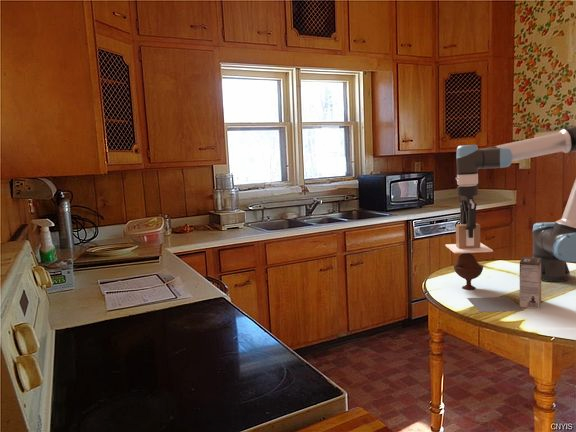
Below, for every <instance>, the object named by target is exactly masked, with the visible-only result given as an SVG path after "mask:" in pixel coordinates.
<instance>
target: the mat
mask: <svg viewBox="0 0 576 432" xmlns="http://www.w3.org/2000/svg"><path fill="white" fill-rule="evenodd" d="M466 299H467V300H468V302H470V303H471V304H472V305H473V306H474V308H475V309H477V311H478V312H479V313H483V312H485V313H487V312H488V313H489V312H490V313H492V312H517V311H519V312H520V311H521V312H522V311H525V310H524V309H523V307H520V305H519V304H517V303H516V302H514V301H513V300H512V299H511V298H510V297H508V296H488V297H487V296H485V297H466Z"/></svg>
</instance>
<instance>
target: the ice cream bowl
mask: <svg viewBox="0 0 576 432" xmlns="http://www.w3.org/2000/svg"><path fill="white" fill-rule="evenodd" d="M453 269H454V271H455V274H457V275H458V276H459V277H461V278H462V279H465V282H466V284H465V285H463V286H462V287H461V289H463V290H466V291H475V290H476V289H477V288H476V287H475V286H474V285H473V284H472V280H474V279H477V278H478V277H480V275H481V274H482V272H483V270H484V265H483V264H480V263H479V262H478V261H477V259H476V257H475V256H474V254H472V253H460V254H459V256H458V259H457V260H456V263H455V264H454V265H453Z"/></svg>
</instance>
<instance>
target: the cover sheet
mask: <svg viewBox="0 0 576 432" xmlns="http://www.w3.org/2000/svg"><path fill="white" fill-rule="evenodd" d="M471 226H472V225H471ZM465 228H467V224H461V223H458V224H457V223H456V224H455V243H450V244H449V243H448V244H447V243H446V244H445V247H446V249H449V250H450V251H451V252H452V253H453V254H463V253H470V254H472V253H473V254H474V253H477V254H478V253H492V252H493V253H494V250H493V249H492V248H490V247H488V246H487V245H485V244H483V243H482V242H481V224H480V223H477V222H476V228H474V246H466V230H465Z"/></svg>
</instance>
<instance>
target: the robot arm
mask: <svg viewBox="0 0 576 432" xmlns="http://www.w3.org/2000/svg"><path fill="white" fill-rule="evenodd" d="M574 152H576V125H574V126H571V127H566V128H563V129H560V130H559V131H558V132H556V133H555V132H554V133H550V134H545V135H542V136H537V137H532V138H528V139H527V138H526V139H523V140H518V141H517V140H516V141H512V142H509V143H503V144H499V145H494V146H490V147H485V148H479V147H478V145H477V144H466V145H465V144H464V145H463V144H462V145H458V146H457V148H456V157H455V158H456V177H455V180H456V184H457V185H458V186H456V195H457V196H458V197H461V199H460V200H459V210H460V212H459V213H460V224H467V228H465V230H466V246H474V228H476V223H477V203H476V202H475V199H474V196H478V195H479V186H478V184H479V172H478V171H479V170H482V169H499V168H500V169H502V168H503V169H504V168H508V167H510V166H511V164H512V162H515V161H516V162H517V161H521V160H525V159H526V160H527V159H531V158H535V157H539V156H540V157H541V156H545V155H551V154H554V153H564V154H569V153H574ZM574 179H575V180H574V182H573V185H572V188H571V191H570V194H569V197H568V200H567V203H566V205H565V208H564V211H563V214H562V216H561V218H560V219H558V220H556V221H553V222H536V223H534V224H533V226H532V258H542V264H541V265H542V266H541V281H545V282H566V281H569V280H570V278H571V271H570V269H569V267H568V264H567V263H576V178H574ZM471 225H472V226H471Z"/></svg>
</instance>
